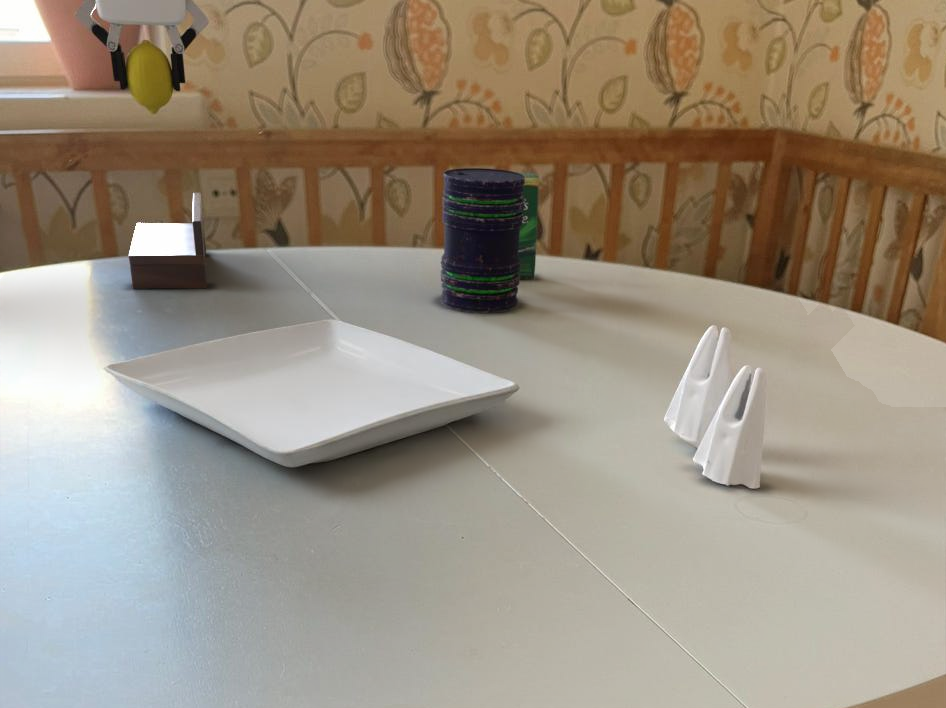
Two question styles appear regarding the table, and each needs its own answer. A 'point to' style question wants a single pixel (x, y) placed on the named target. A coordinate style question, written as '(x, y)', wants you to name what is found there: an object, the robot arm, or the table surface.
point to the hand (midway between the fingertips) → (150, 87)
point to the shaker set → (721, 413)
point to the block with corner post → (170, 253)
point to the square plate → (312, 389)
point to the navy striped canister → (481, 239)
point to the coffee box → (529, 227)
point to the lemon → (149, 76)
